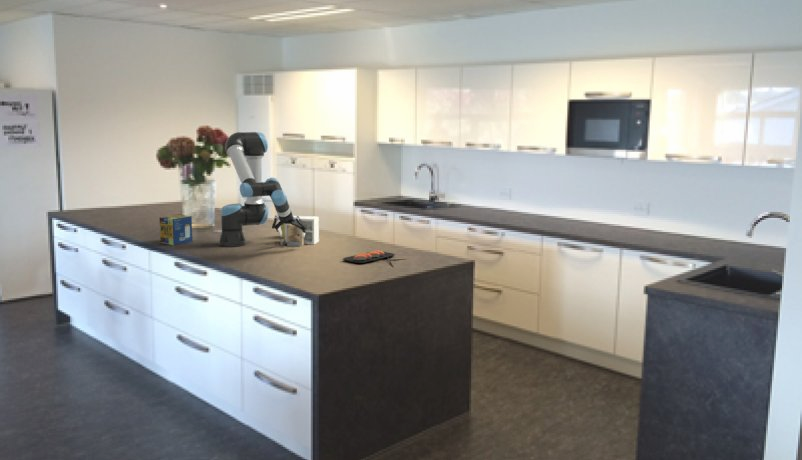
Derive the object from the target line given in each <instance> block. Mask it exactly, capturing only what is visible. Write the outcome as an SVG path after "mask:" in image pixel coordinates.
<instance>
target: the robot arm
mask: <svg viewBox="0 0 802 460" xmlns="http://www.w3.org/2000/svg"><path fill="white" fill-rule="evenodd" d="M224 149H225V152H226V155H227V156H228V157H229V158H230V161H232V164H233V167H234V170H235V171H236V174H237V176H238V178H239V181H240V183H241V184H240V185H239V194H240V196H241V197H243V198H246V200H245V201H244V205H242V204H241V203H231V204H226V205H224V206H222V207H221V210H220V219H221V221H220V222H221V233H220V236H219V239H218V245H219V246H220V247H226V248H227V247H229V248H230V247H232V248H233V247H241V246H242V247H243V246H245V245H246V244H247V241H246V237H245V234H244V232H243V227H244V226H245V227H246V226H259V225H264V224H265V223H266V222H267V220H268V218H269V207H268V206H267V204H266V203H265V201H264V200H263V197H270V199H271V201H272V204H273V206H274V208H275V211H276V214H277V215H275V216H274V218H273V223H272V225H271V229H275V230H276V232H277V233H278V235H279V237H281V236H282V230H281V225H283V224H284V223H285V224H292V225H295V226H296V227H298V228H300V229H301V232H302V235H303V237H305V231H306V230H307V226H308V225H306V224H305V223H304V222H303V221H302V220H301V219H300V218H299V216H300V215H296V216H297V217H293V216H294V215H293V213H292V209H291V207H290V204H289V202H288V198H287V195H286V193H285V192H284V190H283V188H282V186H281V183H280V181H279V180H278V179H277V178H275V177H270V178H266V180H264V181H262V175H263V174H262V171H263V170H262V158H263V157H264V156H265V153H267V152H268V140H267V138H266V136H265V134H264V133H263V132H260V131H259V132H258V131H257V132H256V131H250V132H249V131H248V132H247V131H246V132H242V131H238V132H234V133H232V134H231V135H229V136H228V138H227V139H226V141H225V146H224ZM278 220H279V221H278ZM292 222H293V223H292Z"/></svg>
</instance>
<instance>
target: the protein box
mask: <svg viewBox="0 0 802 460" xmlns="http://www.w3.org/2000/svg"><path fill="white" fill-rule="evenodd" d="M159 233H160V234H159V235H160V244H161V245H170V246H177V245H181V244H186V243H190V242H193V220H192V215H185V214H174V215H173V214H171V215H167V216H162V217H161V216H160V217H159Z"/></svg>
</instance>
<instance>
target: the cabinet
mask: <svg viewBox="0 0 802 460" xmlns="http://www.w3.org/2000/svg"><path fill="white" fill-rule="evenodd" d="M297 216H299V218H300V219H301V220H302V221H303V222H304V223H305V224H306V225H308V226H307V230H306V231H305V237H304V245H316V244H317V243H319V242H320V217H319V216H311V215H310V216H308V215H307V216H306V215H305V216H304V215H293V217H297ZM292 223H293V222H292ZM287 225H288V224H285V239H283V240H282V241H280V247H281V246H284V245H287V246H286V247H300V246H301V242H291V241H287ZM301 247H302V246H301Z"/></svg>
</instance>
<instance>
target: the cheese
mask: <svg viewBox="0 0 802 460" xmlns="http://www.w3.org/2000/svg"><path fill="white" fill-rule="evenodd" d="M280 228H281V230H282V236H280V237H281V239H283V240H285V223H284V224H283V225H281V226H280Z"/></svg>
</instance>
